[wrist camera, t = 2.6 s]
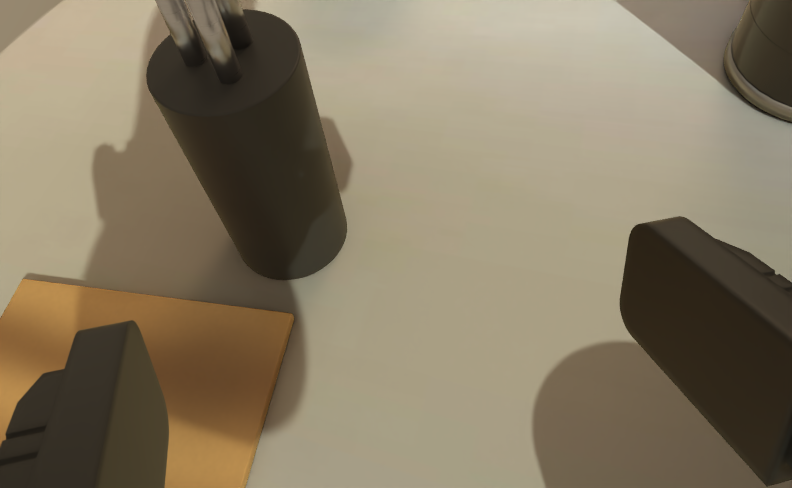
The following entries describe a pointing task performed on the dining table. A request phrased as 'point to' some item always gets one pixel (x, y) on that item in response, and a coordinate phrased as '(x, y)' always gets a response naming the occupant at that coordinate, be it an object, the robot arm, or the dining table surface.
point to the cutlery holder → (250, 132)
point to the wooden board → (161, 367)
